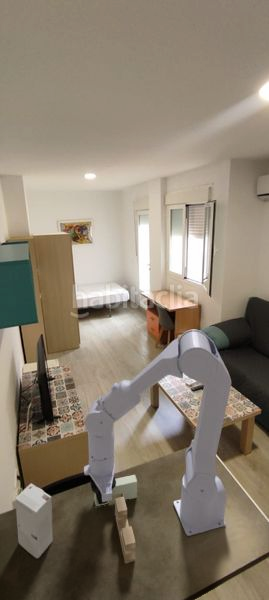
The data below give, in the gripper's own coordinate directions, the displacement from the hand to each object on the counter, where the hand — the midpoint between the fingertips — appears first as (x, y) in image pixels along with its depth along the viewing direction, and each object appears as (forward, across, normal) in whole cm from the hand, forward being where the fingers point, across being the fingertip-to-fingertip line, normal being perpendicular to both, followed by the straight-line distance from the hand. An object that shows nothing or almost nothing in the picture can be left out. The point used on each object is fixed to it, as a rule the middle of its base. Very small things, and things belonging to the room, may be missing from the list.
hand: (102, 497), depth 70 cm
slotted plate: (+1, 0, +3) cm, 4 cm away
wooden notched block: (+1, +9, +3) cm, 10 cm away
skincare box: (+2, +6, -15) cm, 16 cm away
